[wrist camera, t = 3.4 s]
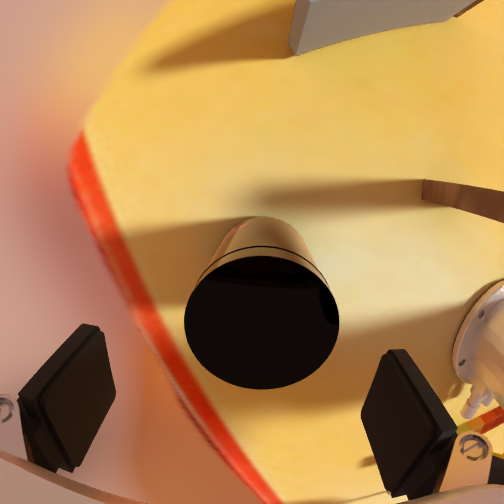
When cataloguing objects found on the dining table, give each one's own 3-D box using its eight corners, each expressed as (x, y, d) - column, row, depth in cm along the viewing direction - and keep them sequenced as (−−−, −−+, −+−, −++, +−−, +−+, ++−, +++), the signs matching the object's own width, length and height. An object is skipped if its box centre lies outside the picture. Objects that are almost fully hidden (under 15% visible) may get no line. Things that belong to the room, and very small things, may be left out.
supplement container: (255, 195, 21) (248, 219, 11) (326, 252, 22) (370, 318, 12) (200, 265, 23) (156, 336, 13) (269, 316, 24) (270, 409, 14)
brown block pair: (459, 206, 21) (553, 237, 10) (421, 199, 21) (517, 227, 10) (454, 5, 15) (519, -39, 5) (419, -10, 15) (477, -67, 5)
